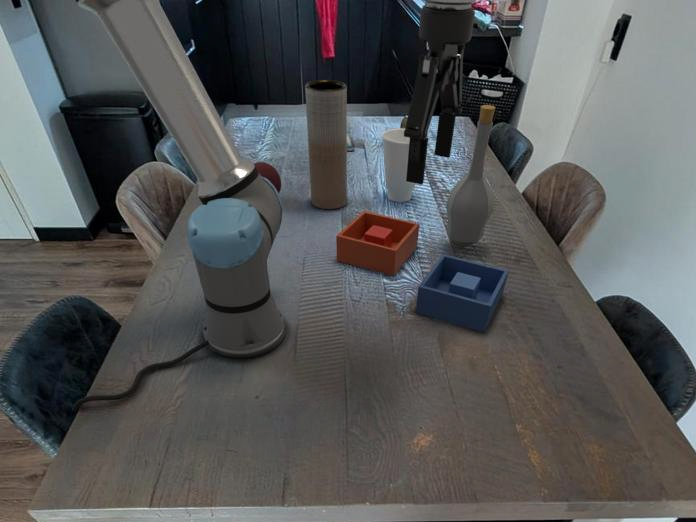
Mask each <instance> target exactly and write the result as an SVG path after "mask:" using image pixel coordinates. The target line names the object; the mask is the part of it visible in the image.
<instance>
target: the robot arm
mask: <svg viewBox="0 0 696 522" xmlns="http://www.w3.org/2000/svg"><path fill="white" fill-rule="evenodd" d="M74 1H75V3H76V4H77V6H78V7H79V8H81V9H83V10H85V11H88V12H90V13H92V14H94V15H95V16H96V17H98V19H99V21H100V23H101V24H102V26H103V27H104V29H105V30H106V32H107V34H108V36H109V37H110V39H111V40H112V42H113V44H114V45H115V47H116V48H117V50H118V52H119V53H120V55H121V56H122V58H123V60H124V62H125V63H126V65H127V66H128V68H129V70H130V71H131V73H132V75H133V77H134V78H135V79H136V81H137V83H138V85H139V86H140V87H141V89H142V92H143V93H144V94H145V96H146V98H147V99H148V100H149V103H150V105H151V106H152V108H153V109H154V110H155V112H156V114H157V115H158V117H159V119H160V121H161V122H162V123H163V125H164V127H165V128H166V130H167V132H168V133H169V135H170V137H171V139H172V140H173V142H174V143H175V145H176V147H177V148H178V150H179V151H180V153H181V155H182V157H183V158H184V160H185V162H186V163H187V165H188V166H189V168H190V169H191V171H192V173H193V175H194V177H195V178H196V179H197V187H196V188H197V189H196V196H197V197H198V199H199V201H200V202H201V205H199V206H198V207H197V208H196V209H195V210H193V211H192V213H191V215H190V216H189V219H188V222H187V234H188V244H189V247H190V251H191V252H192V256H193V260H194V263H195V267H196V270H197V274H198V279H199V283H200V285H201V290H202V295H203V297H204V302H205V308H204V315H203V325H202V334H203V338H204V341H203V342H201V343H199V344H198V345H196V346H194V347H193V348H191V349H189V350H188V351H186V352H185V353H183V354H182V355H180V356H179V357H176V358H174V359H172V360H168V361H163V362H162V361H161V362H157V363H153V364H149V365H147V366H145V367H144V368H142V369H141V370H139V371H138V373H137V374H136V376H135V379H134V381H133V383H132V385H131V387H130V388H129V389H127V390H126V391H124V392H122V393H118V394H110V395H88V396H84V397H82V398H80V399H78V400H77V401H76V402H74V404H73V405H72V407H71V411H77V410H78V409H80V407H81V406H83V405H84V404H86V403H89V402H97V401H100V402H101V401H102V402H103V401H104V402H106V401H117V400H122V399H126V398H127V397H129V396H130V395H133V393H135V392H136V390H137V389H138V387H139V385H140V383H141V380H142V378H143V377H144V375H145V374H146V373H148V372H151V371H152V370H156V369H159V368H166V367H170V366H174V365H177V364H179V363H181V362H183V361H184V360H186V359H188V358H189V357H191V356H192V355H193V354H195V353H197V352H199V351H201V350H202V349H204V348H206V347H208V349H209V350H211V351H212V352H213V353H215V354H216V355H219V356H222V357H226V358H230V359H249V358H255V357H259V356H261V355H264V354H267V353H269V352H271V351H273V350H274V349H275V348H276V347H278V346H279V345H280V344H281V343H282V341H283V340H284V338H285V335H286V323H285V318H284V316H283V314H282V312H281V311H280V310H279V308H278V306H277V304H276V300H274V298H273V296H272V292H271V284H270V276H269V269H268V268H269V267H268V259H269V255H270V253H271V251H272V248H273V245H274V242H275V239H276V237H277V235H278V233H279V231H280V228H281V226H282V221H283V202H282V198H281V196H280V193H278V191H277V190H276V188H275V187H274V185H273V184H272V183H271V182H270V181H269V180H268V179H266V178H263V177H262V176H260V174H259V172H258V170H257V168H256V166H255V164H254V163H255V162H254V161H252V160H249V159H247V158H244V157H243V156H241V154H240V152H239V150H238V149H237V147H236V144H235V143H234V140H233V139H232V136H231V135H230V134H229V132H228V130H227V128H226V126H225V124H224V122H223V120H222V118H221V116H220V115H219V113H218V111H217V108H216V107H215V105H214V103H213V102H212V99H211V98H210V96H209V93H208V92H207V90H206V88H205V86H204V84H203V82H202V80H201V79H200V77H199V75H198V72H197V71H196V69H195V67H194V65H193V63H192V62H191V60H190V59H189V56H188V54H187V52H186V50H185V49H184V47H183V45H182V43H181V41H180V39H179V37H178V36H177V33H176V31H175V29H174V28H173V26H172V23H171V22H170V20H169V18H168V16H167V15H166V12H165V11H164V9H163V7H162V6H161V3H160V2H159V0H74ZM422 1H423V2H425V3H424V5H422V7H421V8H420V11H419V12H420V13H419V24H418V25H419V26H418V38H419V39H420V40H421V41H422V42H424V43H427V44H428V47H429V48H428V51H427V55H423V54H420V55H419V57H418V62H417V70H416V71H417V72H416V77H415V82H414V88H413V91H412V96H411V100H410V105H409V109H408V114H407V117H408V118H407V123H406V127H405V130H404V137H409V138H410V142H409V154H408V165H407V177H406V181H407V182H412V183H415V184H417V185H423V184H424V181H425V174H426V173H425V172H426V163H427V155H428V154H427V153H428V145H429V137H428V135H427V133H429V128H430V126H431V122H432V119H433V115H434V112H435V109H436V106H437V102H438V99H440V105H441V112H439V114H438V123H437V129H436V131H437V132H436V136H435V137H436V139H435V147H434V153H433V155H434V156H437V157H443V158H450V157H451V151H452V145H453V139H454V132H455V126H456V124H455V123H456V117H457V115H462V112H463V106H461V105H462V103H463V68H464V66H463V65H464V53H465V44H467V43H469V42H470V41H471V39H472V35H473V28H474V24H475V23H474V22H475V15H476V11H475V9H474V7H472V5H473V4H475V3H476V2H477V0H422ZM456 114H457V115H456ZM417 127H418V129H416V128H417ZM426 136H427V138H426Z"/></svg>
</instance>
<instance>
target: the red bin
mask: <svg viewBox="0 0 696 522" xmlns="http://www.w3.org/2000/svg"><path fill="white" fill-rule="evenodd" d="M373 225H375V226H380V227H384V228H388V229H392V230H393V234H392V248H390V247H386V246H382V245H378V244H374V243H370V242H366V241H364V235H365V233H366V232H367V231H368V230H369V229H370V228H371V227H372V226H373ZM419 233H420V223H418V222H414V221H409V220H405V219H402V218H401V219H400V218H398V217H397V218H395V217H392V216H388V215H383V214H379V213H376V212H371V211H366V210H363V211H362V212H361V213H360V214H359V215H358V216H357V217H355V218H354V219H353V220H352V221H351V222H350V223H349V224H347V226H345V227H344V228H343V229H342V230H341V231H340V232H339V233H338V234H337V235H336V236H335V239H336V240H335V241H336V242H335V243H336V244H335V245H336V261H337V262H341V263H343V264H348V265H352V266H355V267H359V268H363V269H367V270H371V271H374V272H378V273H382V274H386V275H390V276H393V277H394V276H395V275H396V274H397V273H398V271H399V270H401V268H402V267H403V266H404V264H405V263H406V262H407V260H408V259H410V257H411V256H412V254H413V253H414V252H415V251H416V250H417V248H418V243H419Z"/></svg>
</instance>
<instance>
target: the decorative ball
mask: <svg viewBox="0 0 696 522" xmlns="http://www.w3.org/2000/svg"><path fill="white" fill-rule="evenodd" d="M253 163H254V164H255V166H256V168H257V170H258V172H259V174H260V176H262V177H263V178H266V179H268V180H269V181H270V182H271V183H272V184H273V185H274V187H275V188H276V190H277V191H278V193H279V194H280V193H281V190H282V179H281V176H280V173H279V172H278V170H277V169H276V168H275V167H274V166H273V165H272V164H270V163H267V162H264V161H258V162H253Z"/></svg>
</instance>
